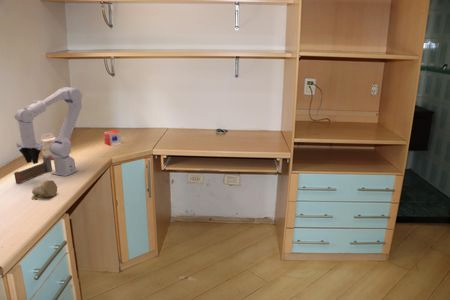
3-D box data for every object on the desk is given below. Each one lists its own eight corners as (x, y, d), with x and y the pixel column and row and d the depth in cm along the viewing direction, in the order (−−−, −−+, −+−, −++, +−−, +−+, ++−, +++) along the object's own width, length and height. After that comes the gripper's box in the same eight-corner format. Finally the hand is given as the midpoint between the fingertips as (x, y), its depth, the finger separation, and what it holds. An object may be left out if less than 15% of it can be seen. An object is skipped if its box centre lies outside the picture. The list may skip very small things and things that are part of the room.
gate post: (52, 170, 189) (50, 156, 187) (48, 172, 186) (46, 158, 184) (48, 170, 190) (46, 156, 188) (44, 171, 187) (42, 157, 185)
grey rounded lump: (37, 192, 162) (46, 173, 161) (54, 204, 161) (63, 184, 159) (24, 195, 155) (34, 175, 153) (42, 207, 153) (52, 187, 152)
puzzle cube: (115, 141, 243) (114, 130, 241) (121, 143, 238) (120, 132, 236) (104, 144, 238) (103, 132, 235) (110, 146, 232) (109, 134, 230)
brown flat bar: (47, 171, 187) (45, 161, 185) (18, 183, 171) (16, 173, 170) (45, 171, 187) (43, 161, 186) (16, 183, 172) (14, 172, 170)
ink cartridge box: (47, 161, 204) (43, 136, 200) (43, 159, 207) (38, 134, 203) (61, 157, 210) (58, 133, 206) (57, 156, 213) (54, 131, 209)
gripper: (8, 135, 167) (14, 163, 171) (32, 138, 162) (36, 167, 166) (21, 132, 173) (26, 159, 177) (44, 134, 168) (49, 162, 172)
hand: (32, 162), depth 172 cm, fingers open, 3 cm apart
